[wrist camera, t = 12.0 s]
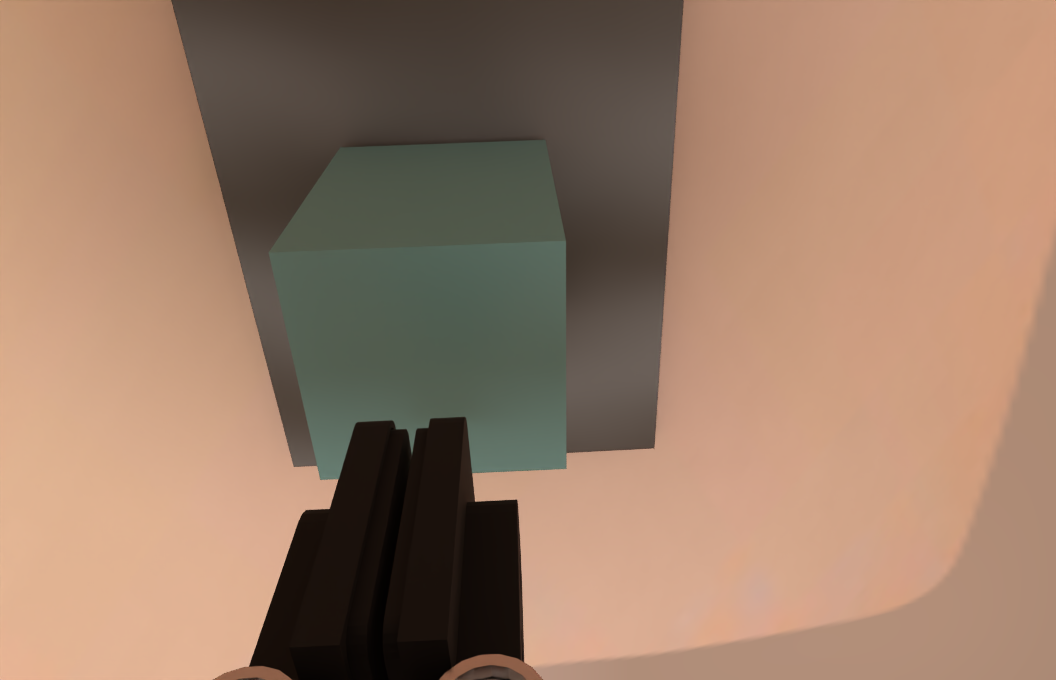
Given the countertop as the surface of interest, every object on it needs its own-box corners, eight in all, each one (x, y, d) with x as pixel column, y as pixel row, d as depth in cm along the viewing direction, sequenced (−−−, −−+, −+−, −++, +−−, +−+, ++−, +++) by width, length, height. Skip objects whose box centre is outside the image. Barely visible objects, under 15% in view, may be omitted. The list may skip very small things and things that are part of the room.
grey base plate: (157, -96, 16) (-42, -101, 10) (685, -119, 16) (792, -137, 10) (298, 454, 25) (232, 631, 18) (651, 437, 25) (700, 606, 19)
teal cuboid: (340, 147, 18) (268, 252, 13) (545, 139, 18) (566, 240, 13) (368, 326, 21) (320, 479, 15) (548, 319, 21) (566, 468, 15)
